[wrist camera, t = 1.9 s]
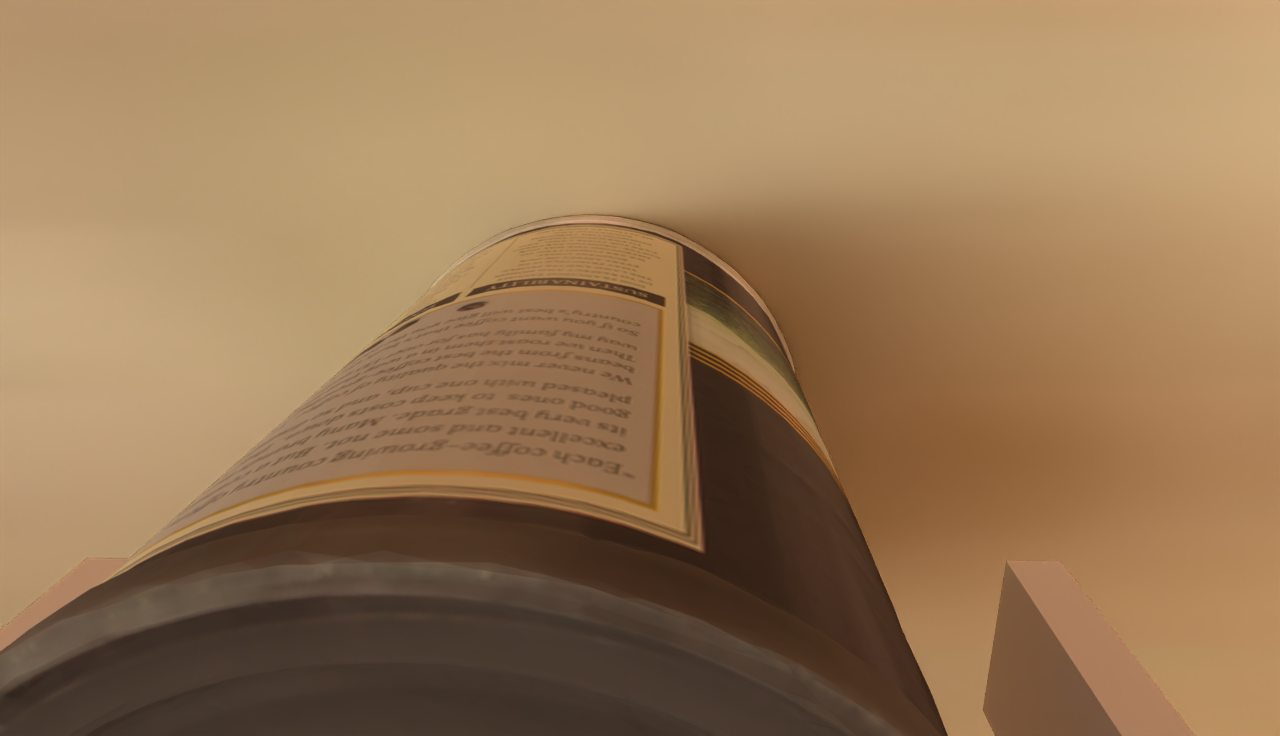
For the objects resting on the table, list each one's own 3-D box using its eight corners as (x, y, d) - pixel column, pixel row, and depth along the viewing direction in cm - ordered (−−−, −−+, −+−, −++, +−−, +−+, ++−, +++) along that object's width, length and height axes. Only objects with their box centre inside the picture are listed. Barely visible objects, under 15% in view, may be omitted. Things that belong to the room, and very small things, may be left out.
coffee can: (878, 320, 19) (1360, 902, 6) (687, 637, 22) (714, 1457, 9) (474, 130, 18) (-99, 311, 4) (338, 496, 21) (-210, 1208, 8)
